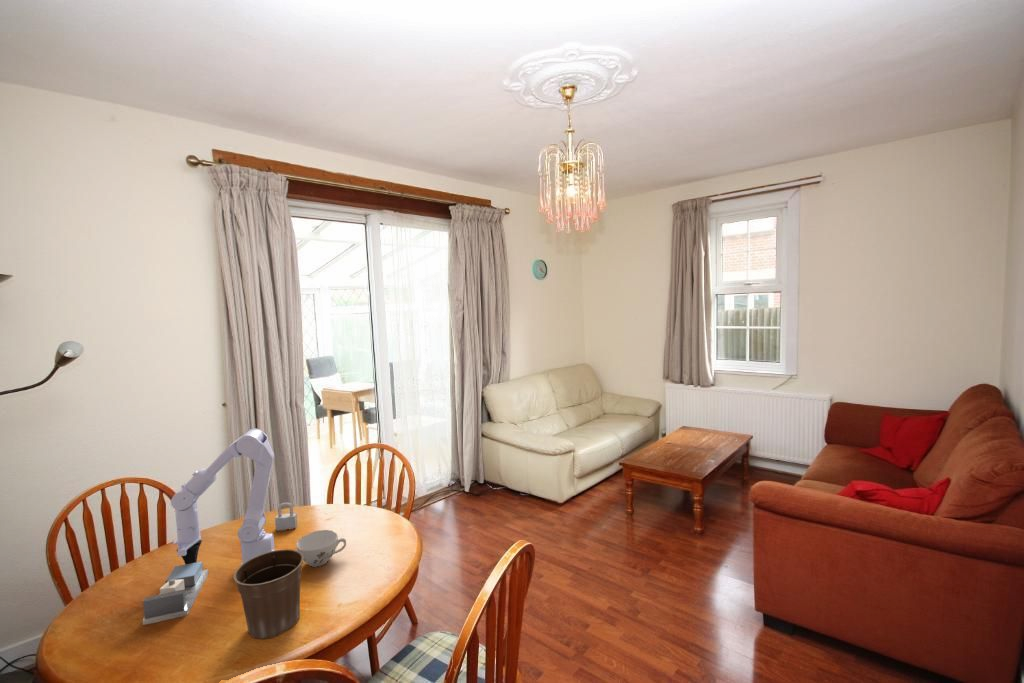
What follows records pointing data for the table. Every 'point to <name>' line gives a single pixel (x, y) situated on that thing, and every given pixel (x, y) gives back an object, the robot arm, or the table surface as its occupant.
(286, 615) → the plant pot
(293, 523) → the padlock
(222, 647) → the table surface
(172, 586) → the block
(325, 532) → the teacup
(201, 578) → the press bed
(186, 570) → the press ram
